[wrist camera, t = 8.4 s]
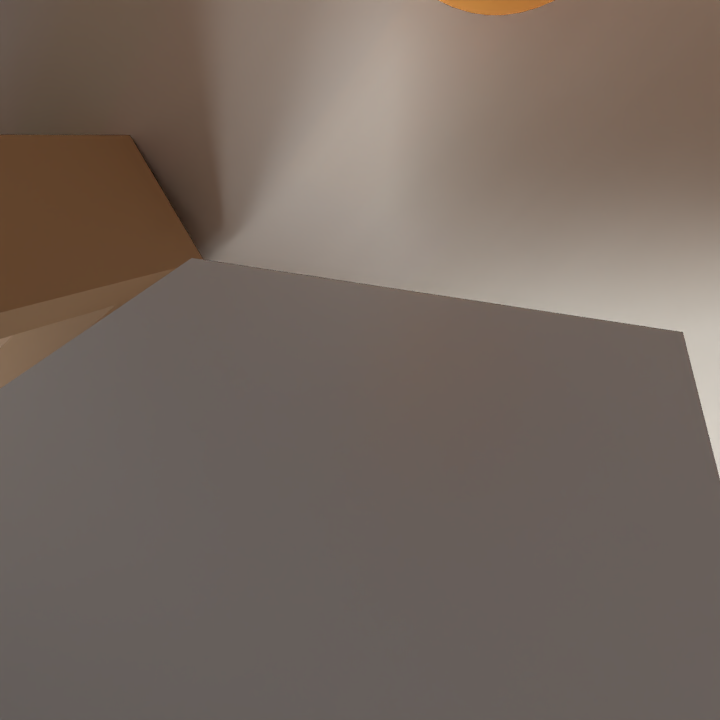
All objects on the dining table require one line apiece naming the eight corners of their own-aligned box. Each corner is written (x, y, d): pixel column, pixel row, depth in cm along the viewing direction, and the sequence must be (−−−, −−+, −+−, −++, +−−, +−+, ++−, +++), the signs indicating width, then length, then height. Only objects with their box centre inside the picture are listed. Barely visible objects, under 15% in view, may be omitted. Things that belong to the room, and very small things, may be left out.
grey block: (231, 566, 15) (-119, 1130, 7) (191, 258, 11) (-649, 833, 3) (573, 665, 13) (546, 1553, 6) (682, 331, 9) (1098, 1993, 2)
